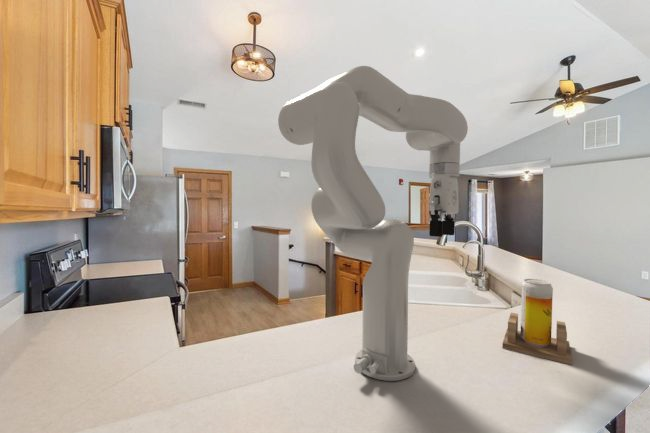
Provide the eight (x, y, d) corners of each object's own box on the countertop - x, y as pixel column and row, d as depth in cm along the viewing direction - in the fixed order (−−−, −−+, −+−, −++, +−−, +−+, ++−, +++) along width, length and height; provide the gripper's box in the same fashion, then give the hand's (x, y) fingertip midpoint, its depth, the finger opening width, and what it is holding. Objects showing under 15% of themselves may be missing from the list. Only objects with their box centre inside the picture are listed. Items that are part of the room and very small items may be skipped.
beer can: (556, 349, 69) (558, 285, 68) (527, 346, 70) (529, 283, 69) (542, 338, 75) (544, 279, 74) (516, 335, 76) (517, 277, 75)
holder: (572, 365, 64) (572, 336, 64) (502, 348, 72) (502, 322, 72) (568, 346, 73) (569, 321, 73) (507, 332, 81) (507, 310, 81)
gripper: (448, 166, 70) (446, 238, 71) (467, 174, 84) (466, 235, 84) (417, 168, 75) (415, 236, 75) (440, 176, 88) (439, 233, 89)
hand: (442, 235), depth 80 cm, fingers open, 9 cm apart
